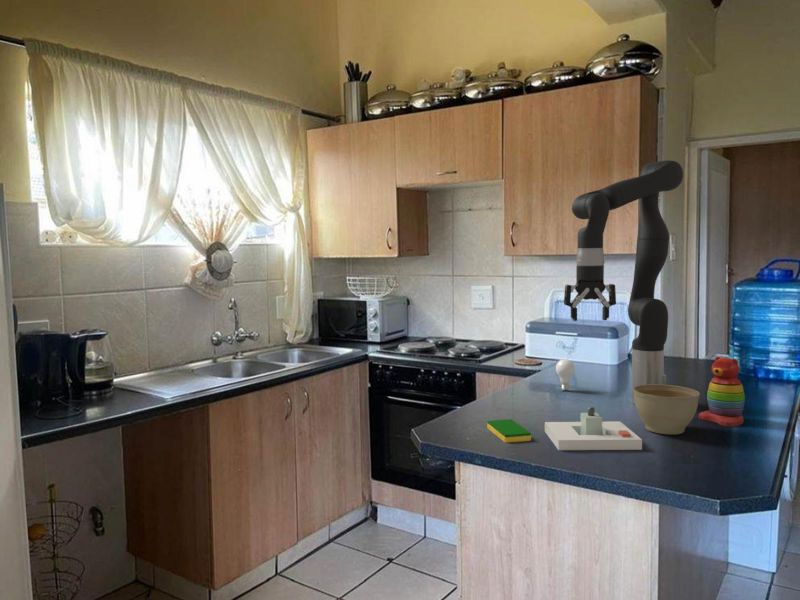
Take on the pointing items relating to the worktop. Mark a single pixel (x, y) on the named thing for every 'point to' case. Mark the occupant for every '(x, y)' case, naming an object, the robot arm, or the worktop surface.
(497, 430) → the dish sponge
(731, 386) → the stacking bear
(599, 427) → the plug
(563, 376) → the lightbulb
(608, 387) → the worktop surface
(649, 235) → the robot arm
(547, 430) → the socket plate
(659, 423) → the planter bowl
